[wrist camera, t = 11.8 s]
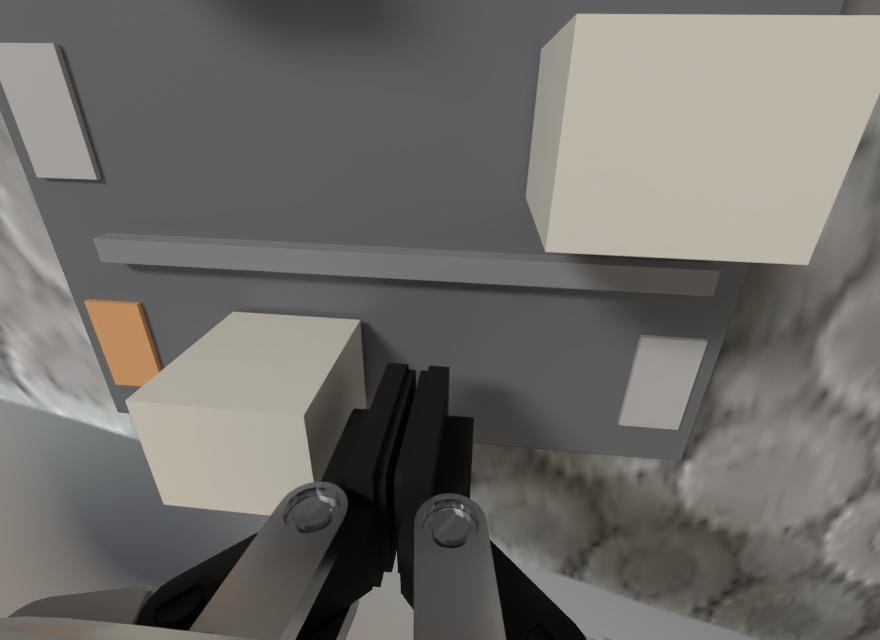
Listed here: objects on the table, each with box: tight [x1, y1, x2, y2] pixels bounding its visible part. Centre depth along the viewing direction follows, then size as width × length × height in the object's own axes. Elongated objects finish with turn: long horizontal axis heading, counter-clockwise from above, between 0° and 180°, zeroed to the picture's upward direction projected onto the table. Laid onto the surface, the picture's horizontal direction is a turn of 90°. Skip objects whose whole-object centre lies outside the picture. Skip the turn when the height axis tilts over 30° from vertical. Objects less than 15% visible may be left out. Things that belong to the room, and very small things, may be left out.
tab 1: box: [125, 312, 366, 515], centre depth 12 cm, size 4×3×4 cm
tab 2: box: [526, 14, 880, 265], centre depth 8 cm, size 4×3×4 cm
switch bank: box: [0, 0, 845, 461], centre depth 12 cm, size 20×20×3 cm
